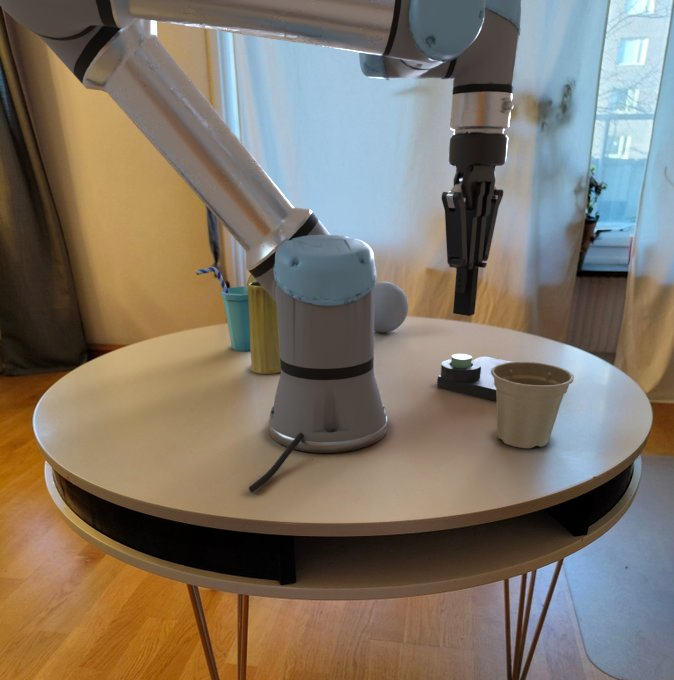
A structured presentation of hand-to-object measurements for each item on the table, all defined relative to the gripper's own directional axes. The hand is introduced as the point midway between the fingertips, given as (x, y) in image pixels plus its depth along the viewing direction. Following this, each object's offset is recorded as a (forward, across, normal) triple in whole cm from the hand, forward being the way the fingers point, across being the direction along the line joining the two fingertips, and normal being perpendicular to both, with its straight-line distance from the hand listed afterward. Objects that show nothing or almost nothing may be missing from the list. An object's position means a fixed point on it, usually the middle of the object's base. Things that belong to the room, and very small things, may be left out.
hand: (463, 313), depth 90 cm
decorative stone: (+12, +20, +29) cm, 37 cm away
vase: (+12, -12, +30) cm, 34 cm away
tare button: (+8, 0, 0) cm, 8 cm away
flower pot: (+11, -12, -16) cm, 23 cm away
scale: (+11, +5, -4) cm, 13 cm away
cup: (+12, -6, +43) cm, 45 cm away
